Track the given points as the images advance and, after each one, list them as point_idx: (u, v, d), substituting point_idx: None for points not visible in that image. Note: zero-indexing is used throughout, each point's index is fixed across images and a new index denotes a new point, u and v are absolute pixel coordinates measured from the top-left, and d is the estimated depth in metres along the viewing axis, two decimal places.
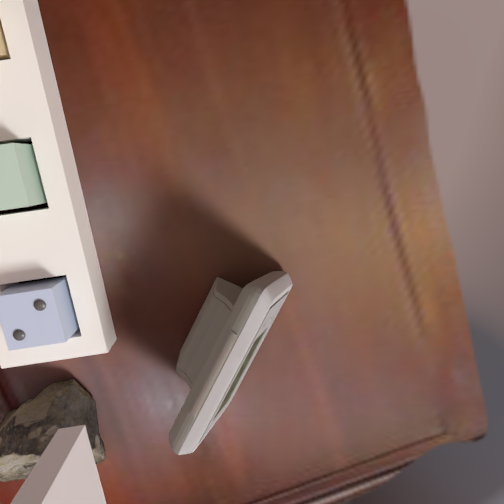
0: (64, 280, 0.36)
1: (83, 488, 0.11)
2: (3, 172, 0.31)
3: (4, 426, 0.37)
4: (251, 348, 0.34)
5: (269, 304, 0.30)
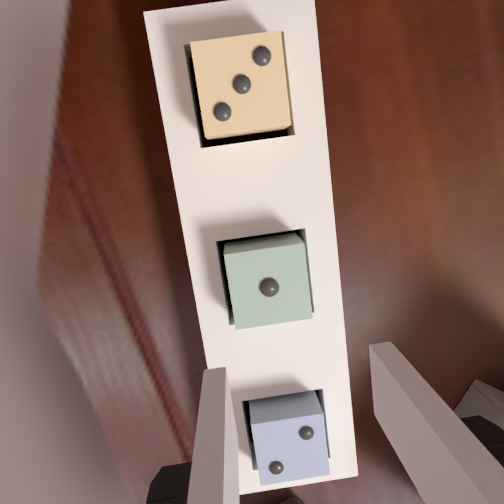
0: (315, 392, 0.30)
1: (231, 417, 0.13)
2: (288, 278, 0.25)
3: None
4: None
5: None
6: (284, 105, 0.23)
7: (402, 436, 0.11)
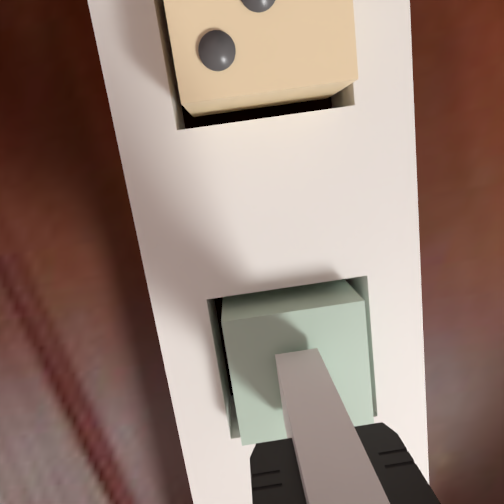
0: None
1: None
2: (333, 360, 0.14)
3: None
4: None
5: None
6: (345, 38, 0.11)
7: None
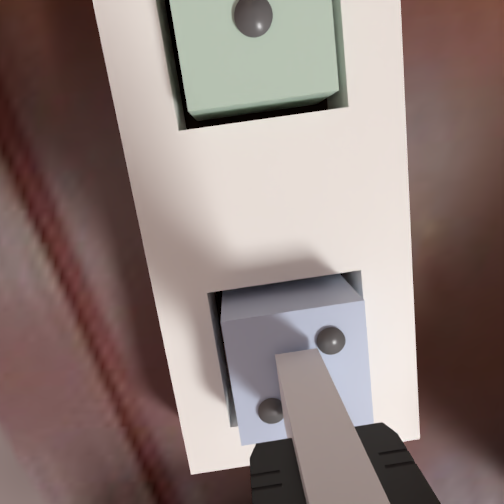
0: (343, 280, 0.16)
1: None
2: None
3: None
4: None
5: None
6: None
7: None
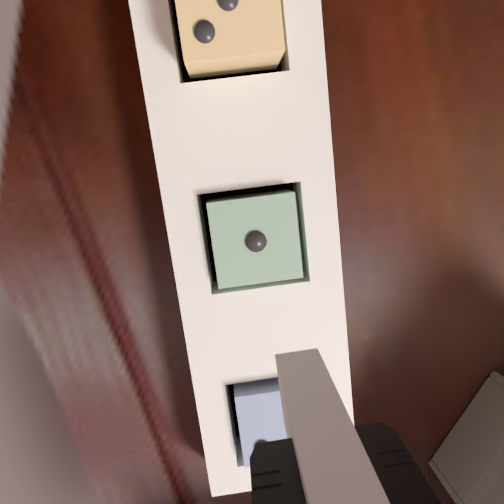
0: None
1: None
2: (276, 231, 0.23)
3: None
4: None
5: None
6: (277, 26, 0.19)
7: None
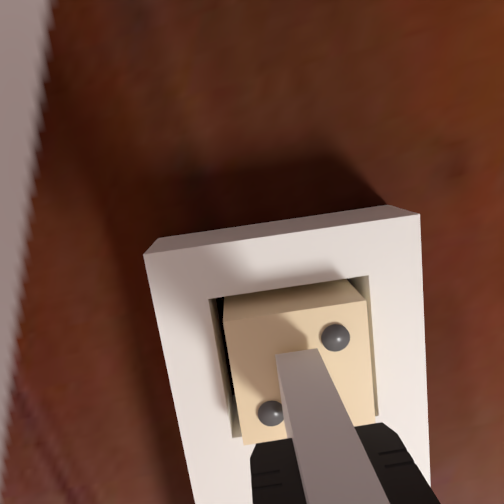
0: None
1: None
2: None
3: None
4: None
5: None
6: (366, 400, 0.15)
7: None
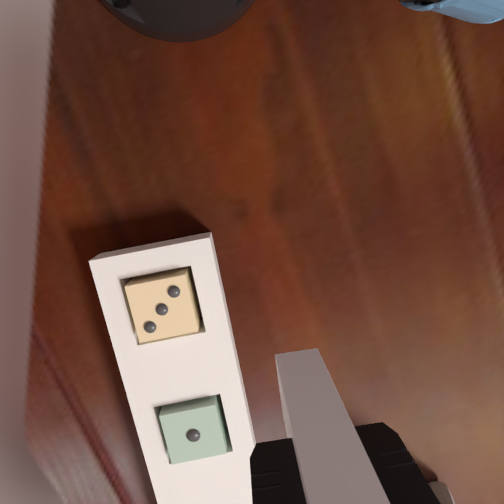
0: None
1: None
2: (206, 428, 0.35)
3: None
4: None
5: None
6: (192, 319, 0.33)
7: None
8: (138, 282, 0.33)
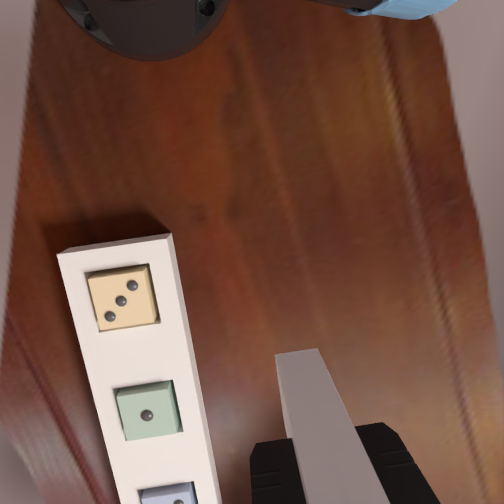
0: None
1: None
2: (158, 409, 0.39)
3: None
4: None
5: None
6: (148, 311, 0.37)
7: None
8: (101, 275, 0.36)
